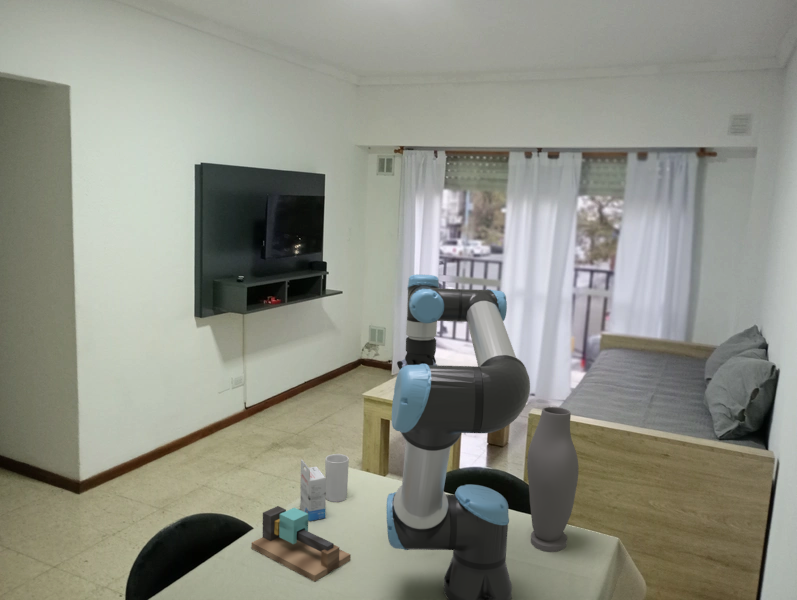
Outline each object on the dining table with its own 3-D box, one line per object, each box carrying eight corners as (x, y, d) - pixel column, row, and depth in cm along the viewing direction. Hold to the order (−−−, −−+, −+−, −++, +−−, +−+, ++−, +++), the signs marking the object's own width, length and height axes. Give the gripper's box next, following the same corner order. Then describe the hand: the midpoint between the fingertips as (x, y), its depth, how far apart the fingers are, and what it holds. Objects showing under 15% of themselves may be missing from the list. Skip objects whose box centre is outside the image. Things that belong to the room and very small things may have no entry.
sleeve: (307, 536, 158) (308, 513, 157) (293, 544, 154) (293, 520, 153) (293, 530, 161) (294, 507, 160) (279, 537, 157) (279, 514, 156)
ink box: (326, 518, 175) (327, 467, 173) (308, 522, 173) (309, 469, 171) (316, 505, 183) (317, 455, 181) (299, 508, 181) (300, 458, 179)
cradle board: (350, 560, 155) (351, 529, 154) (314, 581, 145) (315, 548, 144) (287, 529, 168) (287, 501, 167) (250, 547, 159) (250, 517, 158)
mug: (346, 503, 185) (347, 463, 183) (322, 501, 185) (323, 462, 183) (350, 488, 195) (351, 450, 193) (328, 487, 195) (329, 449, 193)
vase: (571, 558, 159) (581, 421, 155) (518, 548, 163) (527, 414, 159) (574, 535, 171) (584, 407, 167) (525, 526, 175) (533, 401, 171)
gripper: (451, 338, 158) (447, 430, 161) (409, 331, 166) (405, 419, 169) (434, 343, 152) (430, 438, 156) (391, 335, 160) (388, 426, 163)
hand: (417, 428), depth 162 cm, fingers closed
